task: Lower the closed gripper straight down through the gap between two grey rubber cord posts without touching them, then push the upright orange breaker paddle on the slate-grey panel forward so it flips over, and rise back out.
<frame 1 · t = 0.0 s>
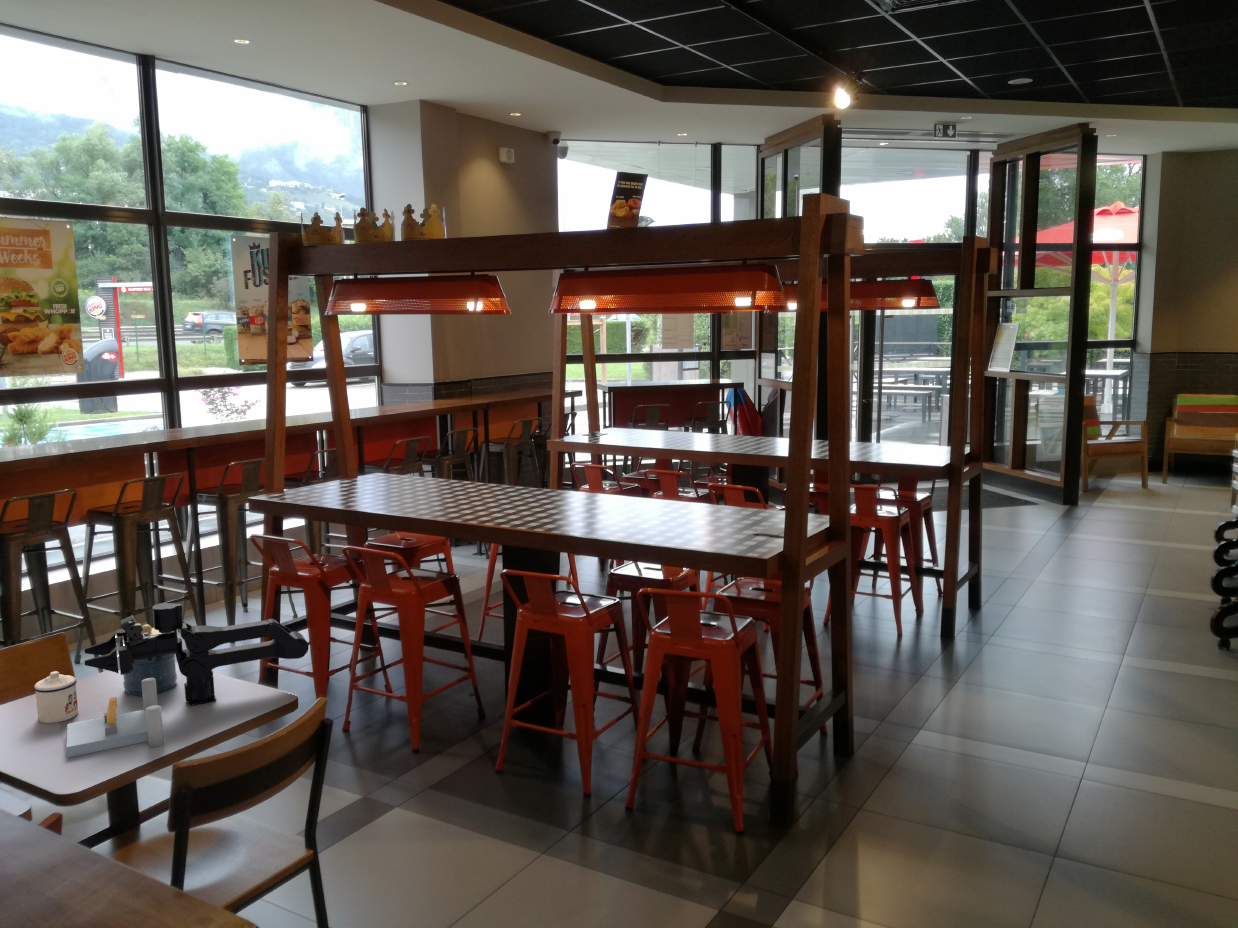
hand: (84, 656, 224), 17 cm above the table, tool horizontal, fingers open, 9 cm apart
teacup with lid: (60, 714, 231), on the table
cord post near: (156, 743, 214), on the table
paddle: (112, 710, 217), point 6 cm above the table, hinge at -10.0°
panel: (111, 736, 218), on the table
canister: (151, 687, 248), on the table
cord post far: (151, 713, 231), on the table
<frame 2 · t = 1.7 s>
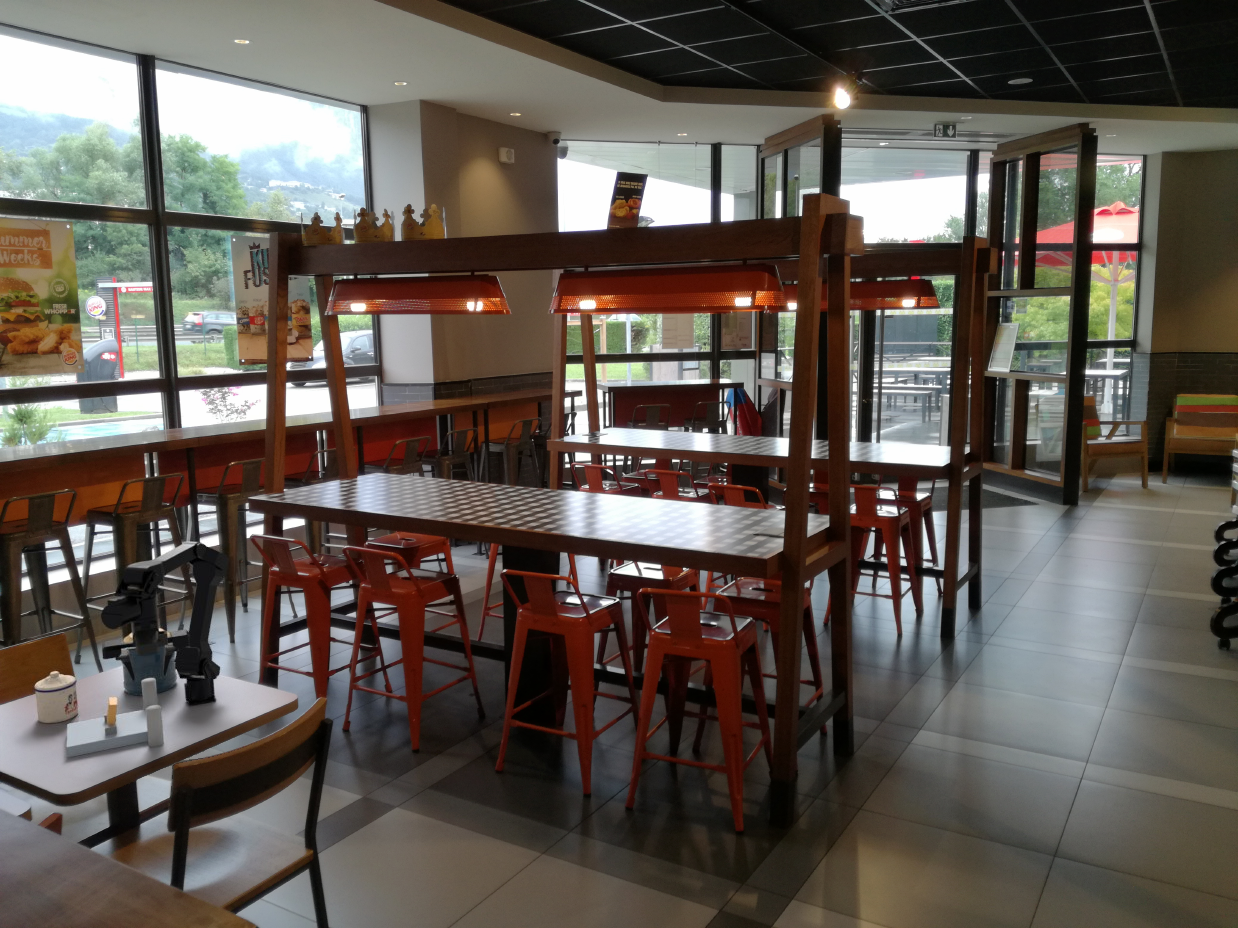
hand: (149, 677, 221), 13 cm above the table, tool pointing down, fingers open, 6 cm apart
nothing on the table moved.
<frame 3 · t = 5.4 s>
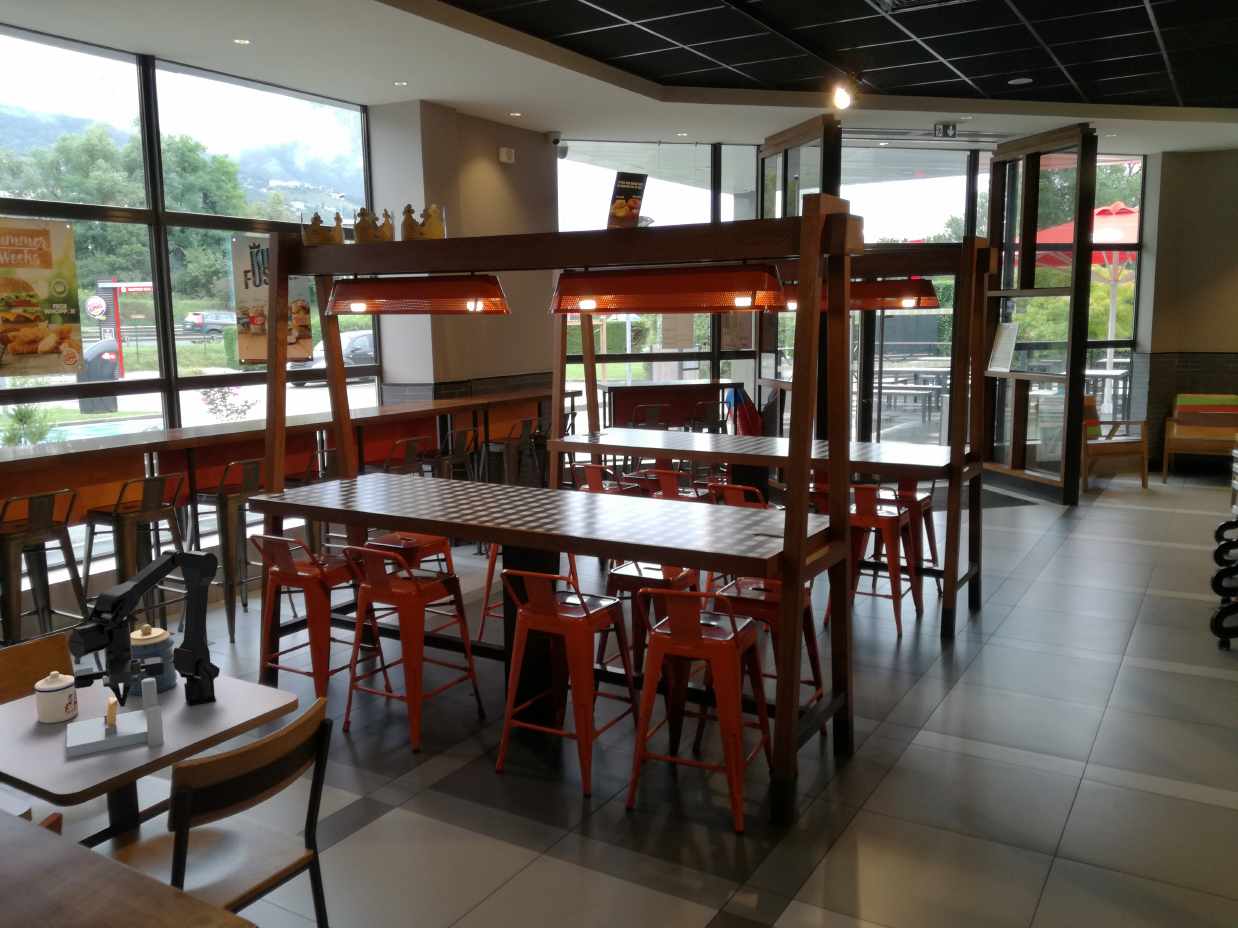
hand: (122, 706, 218), 7 cm above the table, tool pointing down, fingers closed
paddle: (112, 710, 217), point 6 cm above the table, hinge at -9.9°, touching gripper
everything else where it was.
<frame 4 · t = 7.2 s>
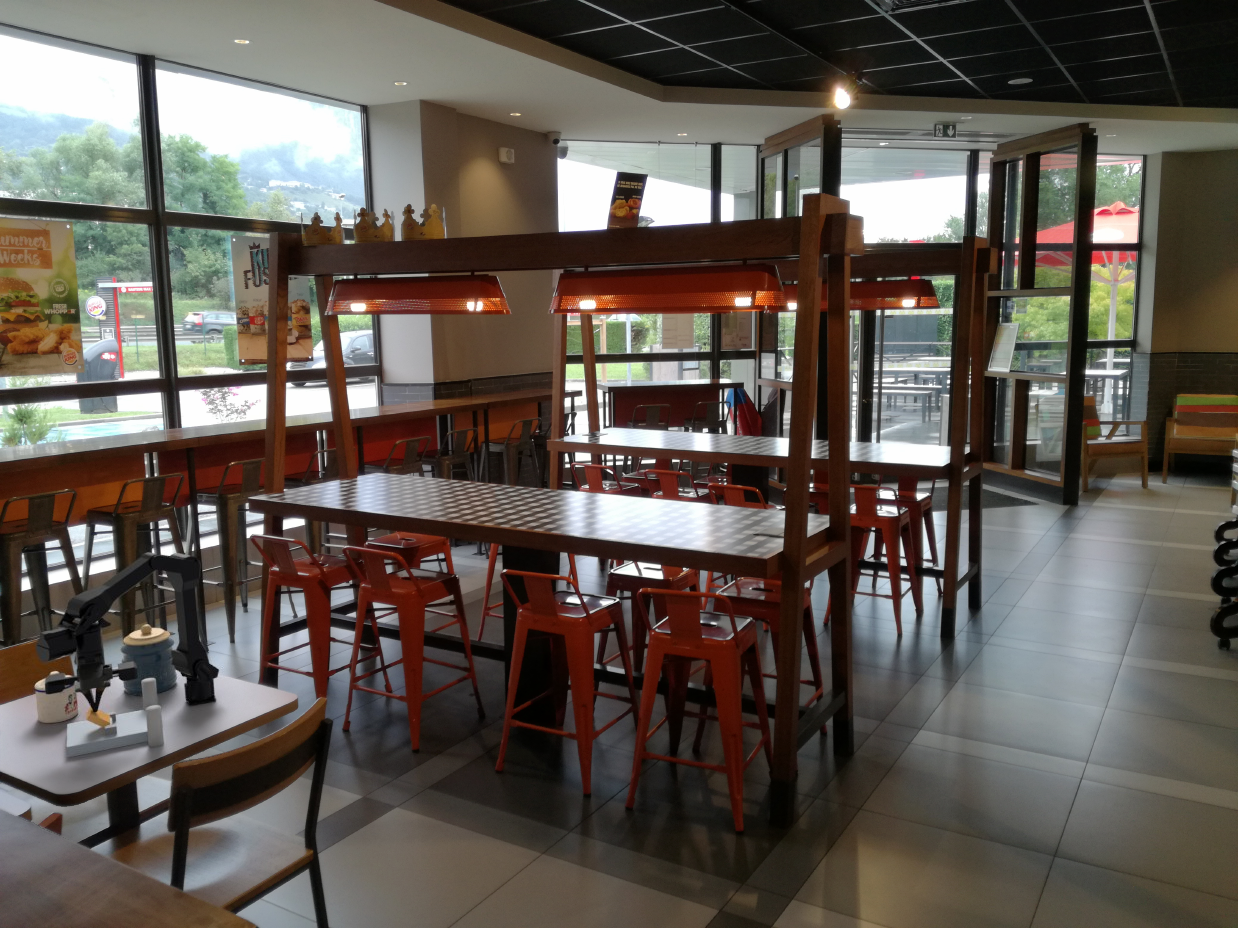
hand: (95, 711, 216), 7 cm above the table, tool pointing down, fingers closed
paddle: (98, 717, 216), point 5 cm above the table, hinge at 50.6°, touching gripper
everything else where it was.
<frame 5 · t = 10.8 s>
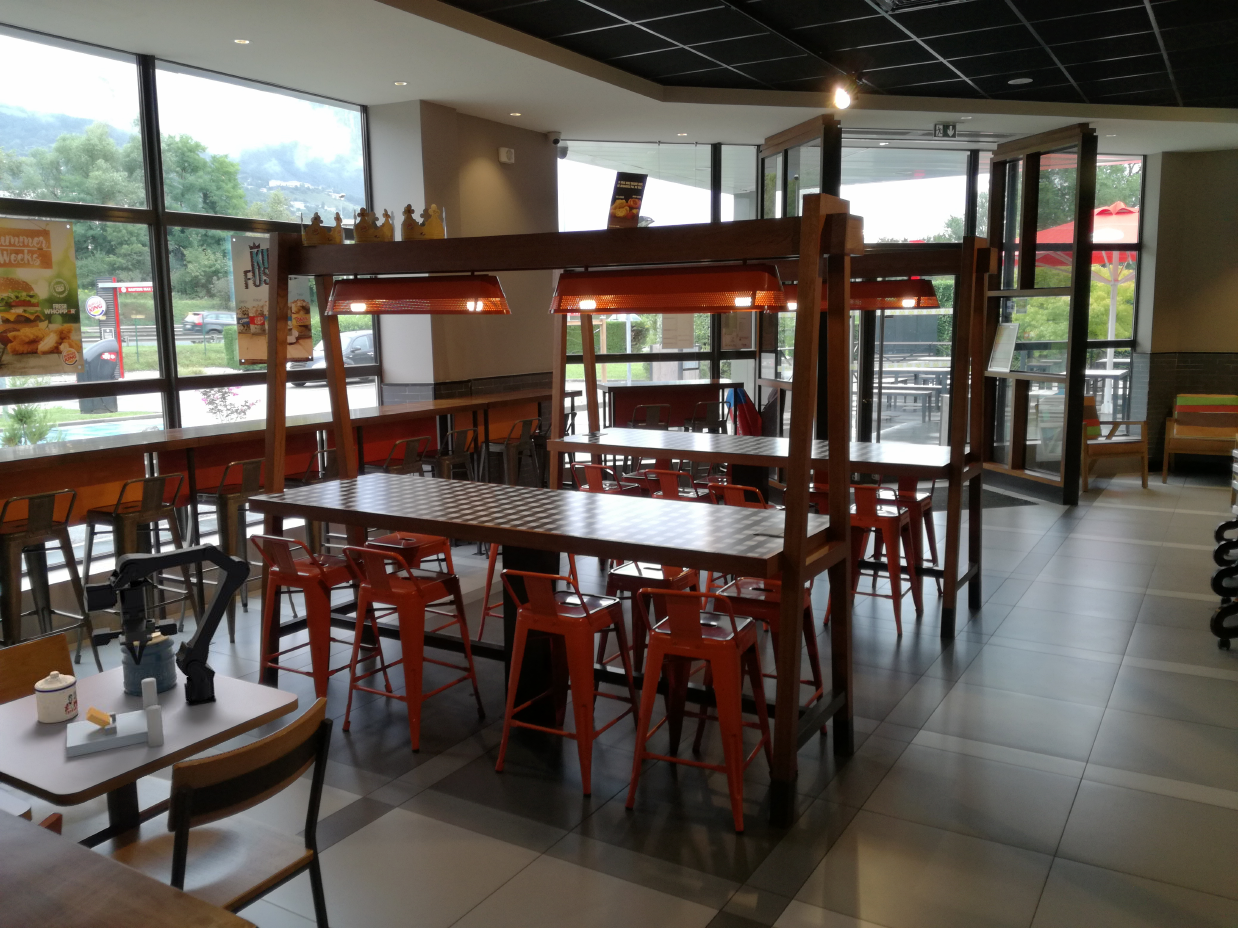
hand: (137, 664, 229), 13 cm above the table, tool pointing down, fingers closed
paddle: (98, 717, 216), point 5 cm above the table, hinge at 50.6°
everything else where it was.
at the end: paddle at +51° (first picture: -10°); cord post near moved 0.0 cm from its start; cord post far moved 0.0 cm from its start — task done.
